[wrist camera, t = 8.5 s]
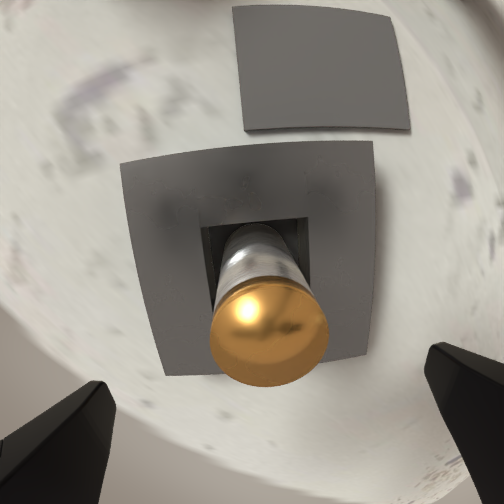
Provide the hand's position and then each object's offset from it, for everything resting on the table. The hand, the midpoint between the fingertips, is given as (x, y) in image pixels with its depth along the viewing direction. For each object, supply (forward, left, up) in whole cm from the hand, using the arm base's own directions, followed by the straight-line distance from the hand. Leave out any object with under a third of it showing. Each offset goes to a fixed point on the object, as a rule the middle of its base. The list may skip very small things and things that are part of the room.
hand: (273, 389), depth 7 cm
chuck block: (0, 0, -11) cm, 11 cm away
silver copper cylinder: (0, 0, -11) cm, 11 cm away
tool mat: (-5, -11, -11) cm, 16 cm away
